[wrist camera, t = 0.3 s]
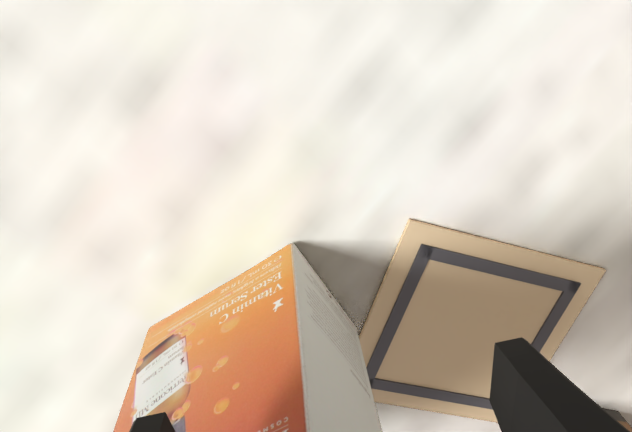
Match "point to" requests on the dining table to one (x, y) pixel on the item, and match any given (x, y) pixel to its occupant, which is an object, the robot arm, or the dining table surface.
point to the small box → (256, 359)
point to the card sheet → (463, 316)
